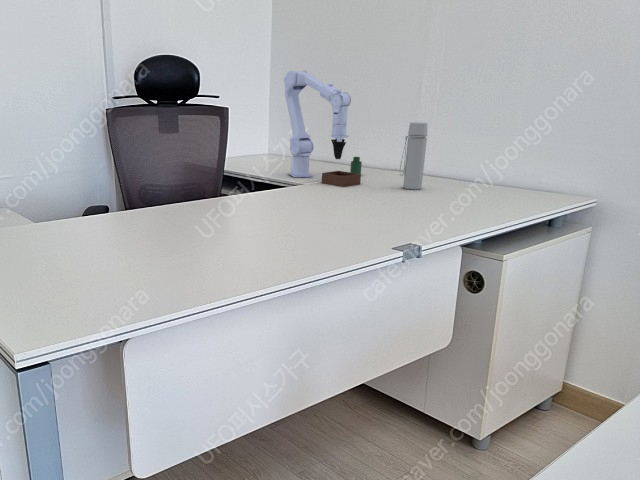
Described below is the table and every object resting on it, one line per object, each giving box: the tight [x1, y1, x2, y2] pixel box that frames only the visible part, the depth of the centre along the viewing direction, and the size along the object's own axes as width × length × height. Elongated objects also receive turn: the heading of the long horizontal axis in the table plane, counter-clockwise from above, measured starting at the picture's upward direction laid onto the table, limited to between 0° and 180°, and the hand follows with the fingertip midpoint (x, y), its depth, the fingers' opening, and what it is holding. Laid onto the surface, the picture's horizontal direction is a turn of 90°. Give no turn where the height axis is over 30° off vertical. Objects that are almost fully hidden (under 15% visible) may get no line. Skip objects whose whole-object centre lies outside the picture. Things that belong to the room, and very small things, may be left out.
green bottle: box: [349, 156, 363, 175], centre depth 265 cm, size 5×5×8 cm
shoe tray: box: [321, 170, 362, 188], centre depth 245 cm, size 12×10×4 cm
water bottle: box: [399, 121, 429, 191], centre depth 230 cm, size 9×8×25 cm
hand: (337, 157), depth 247 cm, fingers open, 7 cm apart
